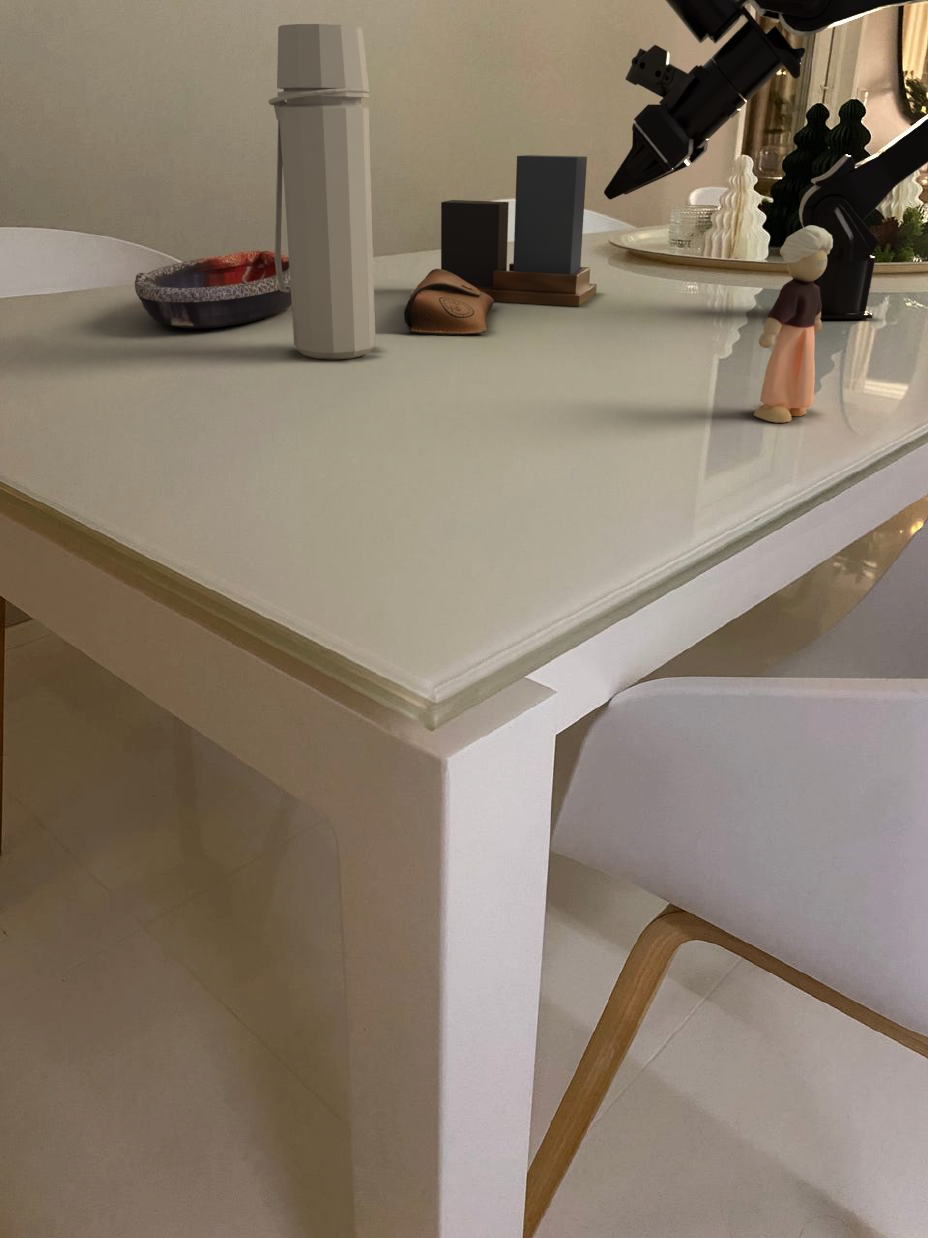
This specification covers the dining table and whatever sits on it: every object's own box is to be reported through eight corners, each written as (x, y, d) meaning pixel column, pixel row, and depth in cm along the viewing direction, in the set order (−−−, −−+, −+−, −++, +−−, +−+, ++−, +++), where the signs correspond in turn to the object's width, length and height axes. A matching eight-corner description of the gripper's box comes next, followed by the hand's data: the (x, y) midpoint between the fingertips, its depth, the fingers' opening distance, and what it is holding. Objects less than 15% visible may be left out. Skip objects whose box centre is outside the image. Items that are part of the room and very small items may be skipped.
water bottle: (392, 348, 91) (386, 30, 80) (348, 365, 85) (334, 21, 74) (306, 339, 95) (289, 32, 84) (257, 354, 88) (231, 24, 77)
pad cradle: (596, 294, 122) (602, 203, 117) (578, 306, 113) (584, 209, 109) (451, 285, 127) (452, 197, 122) (424, 296, 118) (424, 203, 114)
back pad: (579, 285, 120) (587, 156, 113) (569, 290, 116) (577, 157, 110) (523, 281, 122) (528, 154, 116) (512, 286, 119) (516, 155, 112)
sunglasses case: (491, 330, 97) (456, 266, 95) (429, 366, 99) (393, 305, 96) (495, 300, 113) (466, 246, 111) (442, 332, 115) (411, 279, 113)
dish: (95, 334, 96) (87, 279, 93) (215, 287, 123) (211, 243, 121) (252, 341, 93) (248, 285, 91) (339, 292, 121) (337, 248, 119)
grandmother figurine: (795, 429, 69) (827, 231, 63) (740, 421, 70) (766, 227, 65) (824, 406, 75) (855, 223, 69) (772, 399, 76) (799, 219, 71)
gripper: (689, 24, 110) (584, 135, 118) (665, 7, 94) (546, 136, 102) (753, 105, 112) (645, 209, 120) (740, 101, 96) (617, 222, 104)
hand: (614, 193), depth 111 cm, fingers open, 9 cm apart
